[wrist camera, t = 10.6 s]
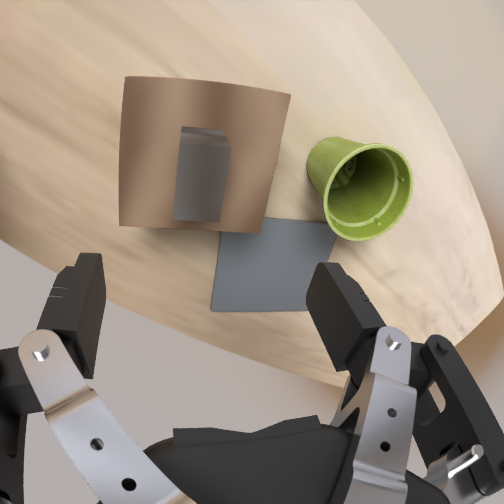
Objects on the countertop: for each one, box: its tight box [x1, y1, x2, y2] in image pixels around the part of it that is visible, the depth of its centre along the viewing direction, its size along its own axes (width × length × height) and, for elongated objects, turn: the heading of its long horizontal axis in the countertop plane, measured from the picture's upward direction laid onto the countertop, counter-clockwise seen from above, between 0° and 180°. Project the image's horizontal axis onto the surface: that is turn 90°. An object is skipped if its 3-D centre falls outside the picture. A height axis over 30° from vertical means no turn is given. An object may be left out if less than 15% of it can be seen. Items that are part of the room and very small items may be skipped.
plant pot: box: [307, 137, 413, 241], centre depth 29 cm, size 9×9×9 cm
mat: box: [210, 217, 337, 312], centre depth 39 cm, size 14×14×1 cm
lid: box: [119, 76, 291, 234], centre depth 21 cm, size 12×12×6 cm
